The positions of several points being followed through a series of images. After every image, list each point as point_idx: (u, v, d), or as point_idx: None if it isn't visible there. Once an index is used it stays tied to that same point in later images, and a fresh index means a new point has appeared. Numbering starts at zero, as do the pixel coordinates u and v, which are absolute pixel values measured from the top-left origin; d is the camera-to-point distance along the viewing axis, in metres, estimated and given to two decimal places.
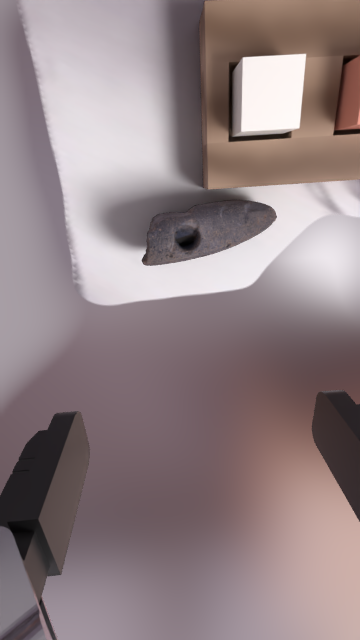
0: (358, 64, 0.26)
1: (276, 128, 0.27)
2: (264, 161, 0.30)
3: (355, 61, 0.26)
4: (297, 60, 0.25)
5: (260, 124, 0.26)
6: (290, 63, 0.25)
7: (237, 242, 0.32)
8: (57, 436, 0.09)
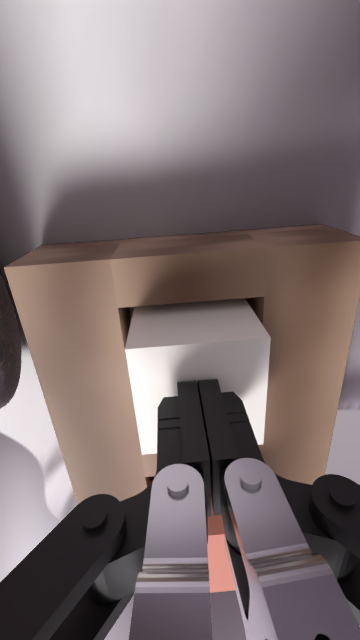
0: None
1: (137, 417, 0.12)
2: (89, 382, 0.14)
3: None
4: (254, 433, 0.13)
5: (143, 387, 0.11)
6: (251, 423, 0.12)
7: None
8: (190, 399, 0.10)
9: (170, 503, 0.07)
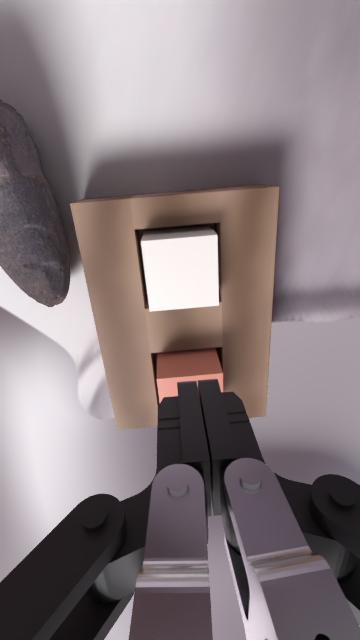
0: (212, 364, 0.25)
1: (147, 285, 0.22)
2: (116, 280, 0.23)
3: (216, 360, 0.25)
4: (213, 297, 0.22)
5: (150, 265, 0.21)
6: (210, 290, 0.22)
7: None
8: (190, 399, 0.10)
9: (170, 503, 0.07)
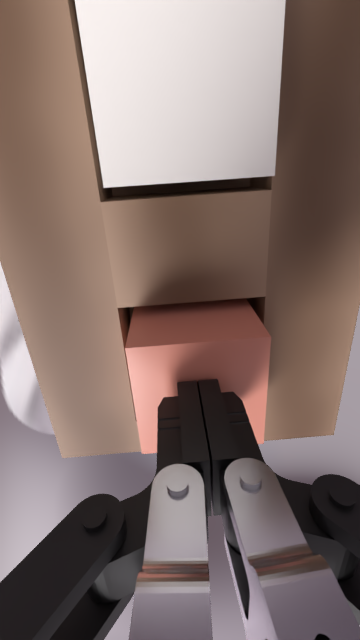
0: (245, 321, 0.12)
1: (94, 105, 0.08)
2: (28, 122, 0.10)
3: (250, 315, 0.12)
4: (262, 151, 0.09)
5: (99, 36, 0.08)
6: (257, 129, 0.09)
7: None
8: (190, 399, 0.10)
9: (170, 503, 0.07)
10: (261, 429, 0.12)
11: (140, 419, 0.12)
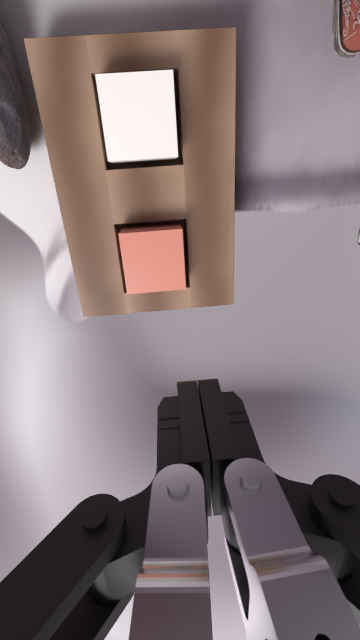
0: (174, 226, 0.26)
1: (104, 129, 0.21)
2: (75, 134, 0.23)
3: (177, 225, 0.26)
4: (172, 146, 0.22)
5: (106, 104, 0.21)
6: (169, 138, 0.22)
7: None
8: (190, 399, 0.10)
9: (170, 503, 0.07)
10: (184, 280, 0.26)
11: (125, 273, 0.26)
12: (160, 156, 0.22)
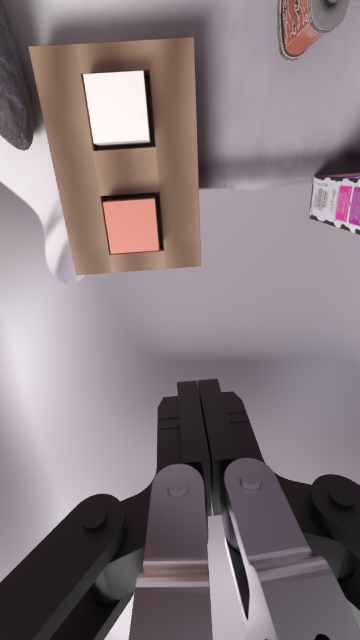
0: (149, 198, 0.31)
1: (90, 117, 0.27)
2: (68, 122, 0.29)
3: (152, 197, 0.32)
4: (144, 131, 0.28)
5: (91, 97, 0.27)
6: (141, 124, 0.28)
7: None
8: (190, 399, 0.10)
9: (170, 503, 0.07)
10: (157, 242, 0.32)
11: (109, 235, 0.31)
12: (135, 139, 0.28)
